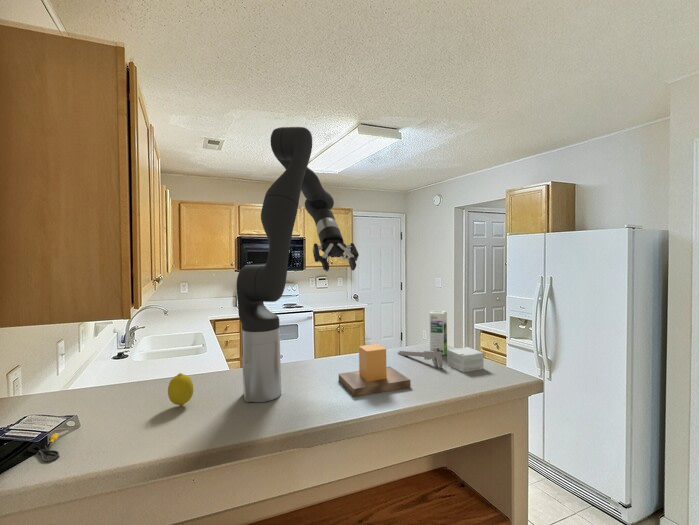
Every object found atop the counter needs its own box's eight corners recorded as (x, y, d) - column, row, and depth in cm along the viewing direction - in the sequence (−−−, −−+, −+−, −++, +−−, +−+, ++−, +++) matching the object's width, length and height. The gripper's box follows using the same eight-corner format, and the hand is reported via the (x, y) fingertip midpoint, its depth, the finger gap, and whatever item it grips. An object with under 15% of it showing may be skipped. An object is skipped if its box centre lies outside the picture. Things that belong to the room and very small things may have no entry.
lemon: (169, 403, 88) (168, 371, 88) (194, 400, 90) (193, 368, 90) (167, 413, 83) (165, 378, 83) (193, 409, 85) (192, 375, 85)
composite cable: (61, 460, 65) (60, 447, 65) (26, 471, 62) (25, 457, 62) (58, 439, 73) (58, 427, 73) (26, 448, 70) (26, 436, 70)
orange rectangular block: (367, 381, 95) (366, 351, 94) (359, 374, 100) (358, 346, 100) (386, 378, 97) (386, 348, 96) (377, 372, 102) (377, 343, 102)
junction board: (354, 396, 90) (353, 388, 90) (338, 380, 101) (338, 373, 101) (410, 387, 96) (410, 379, 95) (390, 373, 107) (389, 366, 107)
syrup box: (429, 354, 125) (429, 312, 124) (431, 349, 130) (430, 309, 130) (446, 355, 123) (446, 313, 123) (447, 350, 129) (447, 310, 128)
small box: (467, 362, 116) (467, 346, 116) (484, 369, 109) (484, 352, 109) (446, 365, 114) (446, 349, 113) (462, 373, 106) (462, 355, 106)
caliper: (442, 369, 110) (442, 348, 110) (440, 369, 110) (440, 349, 109) (399, 353, 127) (398, 336, 127) (396, 354, 127) (396, 336, 127)
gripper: (310, 225, 117) (320, 261, 107) (351, 225, 122) (365, 260, 112) (306, 242, 122) (316, 278, 112) (346, 241, 127) (359, 276, 117)
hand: (340, 269), depth 112 cm, fingers open, 8 cm apart
